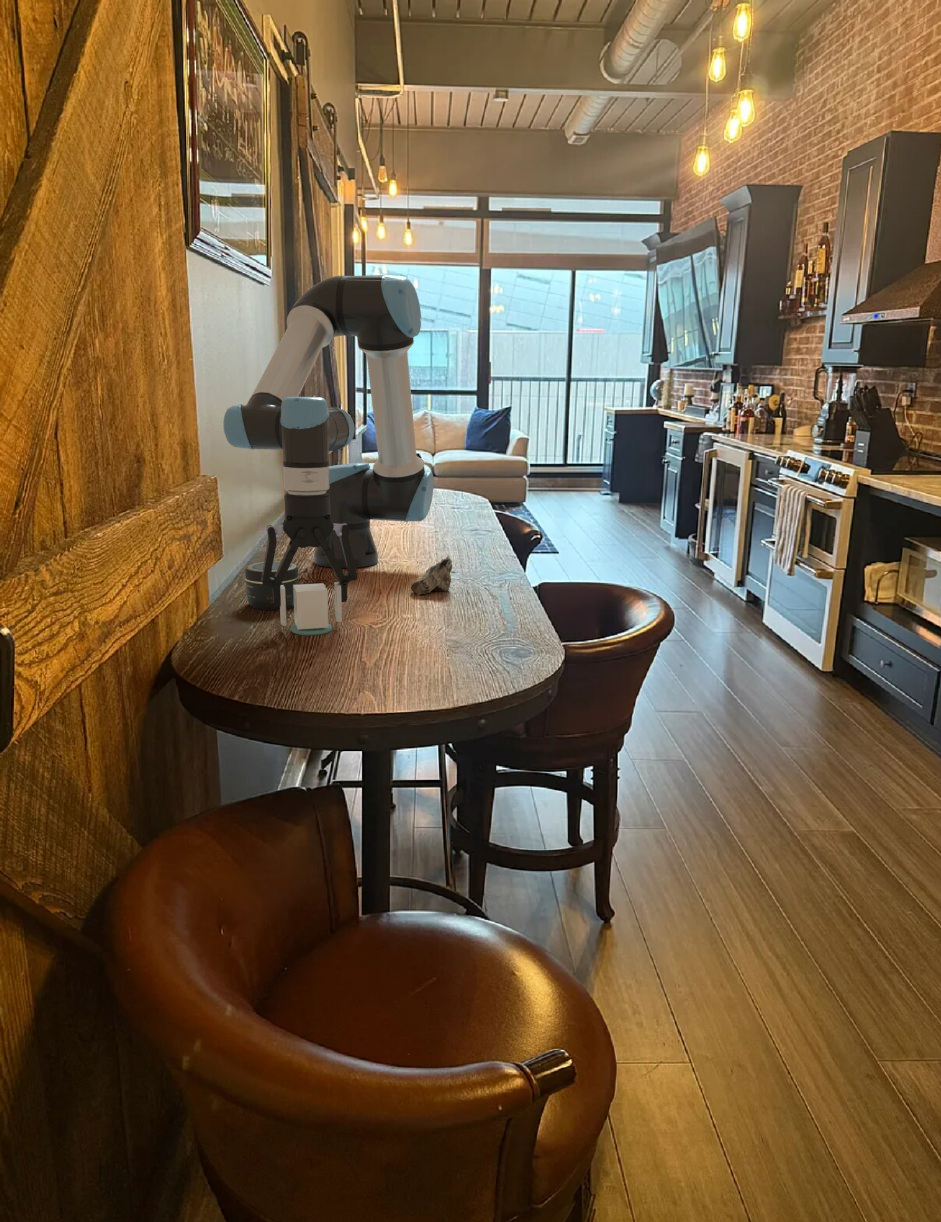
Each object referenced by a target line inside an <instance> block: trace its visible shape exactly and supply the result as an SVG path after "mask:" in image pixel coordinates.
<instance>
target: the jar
mask: <svg viewBox="0 0 941 1222" xmlns="http://www.w3.org/2000/svg"><path fill="white" fill-rule="evenodd" d="M280 563H281V561H279V560H278V561H277V560H276V561H274V560H273V566H272V571H271V578H274V576H275V574H276V572H277V569H278V567H279V565H280ZM263 566H264V561H260V562H255V563H252V564H251V563H250V564H248V565H247V566H246V567H245V570H244V571H245V572H244V573H245V574H244V576H245V577H244V579H245V589H246V590H245V591H246V599H247V602H248V605H249V606H251V608H253V609H255V610H260V611H280V606H275V605H274V602H273V588H272V587H271V586H268V585H264V584H263V583H262V580H261V577H262V571H263ZM298 567H299V566H298V565H297V564H296V563H292V562H291V564H290V566H289V568H288V571H287V573H286V575H285V577H284V579H283V581H282V584H281V585H284V587H285V600H286V610H287V609H290V608H294V593H293V585H299V568H298Z"/></svg>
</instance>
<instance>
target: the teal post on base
mask: <svg viewBox="0 0 941 1222" xmlns="http://www.w3.org/2000/svg"><path fill="white" fill-rule="evenodd" d="M332 630H333V626H332V624H330V623H329V622H328V628H313V629H297V626H296V624H295V623H294V624H292V625H291V626H290V631H291V632H292V634H294V635H299V636H320V635H326V634H327V633H330V632H332Z"/></svg>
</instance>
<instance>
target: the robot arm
mask: <svg viewBox="0 0 941 1222" xmlns="http://www.w3.org/2000/svg"><path fill="white" fill-rule="evenodd" d="M421 318H422V311H421V304H420V300H419V295H418V293H417V290H416V288H415V286H414V284H413V283H412V282H411V280H410V279H408V278H407V277H406V276H401V275H400V276H399V275H391V274H390V275H389V274H378V275H377V274H375V275H371V274H370V275H368V274H367V275H334V276H331V277H328V278H326V279H323V280H321V281H319V282H318V283H316V284H314V285H313V286H311V287H310V288H309V289H307V290H306V292H304V293H303V294H302V295H301V296H300V297H299V298H298V299H297V301H295V302H294V304H293V306H292V308H291V309H290V311H289V313H288V315H287V317H286V326H287V328H286V330H285V332H284V333H283V336H282V338H281V340H280V342H279V344H278V345H277V347H276V350H275V351H274V352H273V355H272V356H271V358H270V360H269V362H268V364H267V366H266V367H265V370H264V372H263V374H262V375H261V377H260V378H259V381H258V383H257V385H256V387H255V389H254V390H253V392H252V394H251V396H250V398H249V400H248V401H247V403H246V404H245V405H243V404H241V403H240V404H237V405H232V406H230V407H228V408H227V410H226V411H225V412H224V416H223V425H222V426H223V432H224V435H225V437H226V440H227V442H228V443H229V445H231V446H232V447H234V448H238V449H248V450H274V451H275V450H279V451H282V459H283V460H282V471H283V475H282V476H283V489H284V490H285V491H287V492H286V493H285V494H284V496H283V497H284V500H283V502H284V520H283V523H282V524H279V525H271V524H270V525H267V526H266V533H267V538H268V539H267V544H266V550H265V556H264V560H263V562H264V566H263V571H262V577H261V580H262V583H263V584H264V585H268V586H271V587H272V588H273V602H274V605H275V606H280V610H279V611H280V612H279V613H280V614H279V615H280V624H281V626H283V627H284V626H287V609H286V600H285V587H284V585H281V584H282V581H283V579H284V577H285V575H286V573H287V571H288V568H289V566H290V564H291V563H292V561H293V560H294V557H295V555H296V553H297V552H298V550H299V548H300V549H305V548H309V547H310V548H314V551H313V563H314V564H315V565H317V566H319V567H320V566H321V567H323V568H324V567H325V568H332V570H333V572H334V574H335V575H336V578H337V579H338V581H336V582H334V585H333V586H334V615H335V616H334V617H335V620H336V621H337V623H342V622H343V618H342V617H343V615H342V614H343V613H342V612H343V609H342V607H343V606H342V603H347V602H348V584H349V583H351V582H353V581H357V580H358V577H359V576H358V571H357V568H364V567H369V566H373V565H375V564H378V562H379V551H378V549H377V547H376V544H375V541H374V537H373V534H372V532H371V520H374V521H390V522H391V521H392V522H405V523H408V522H422V521H424V520H425V519H426V518H427V516H428V515H429V512H430V509H431V506H432V501H433V498H434V496H433V495H434V487H435V486H434V485H435V484H434V483H435V478H434V477H435V476H434V474H433V472H432V471H429V470H426V469H425V462H424V461H423V459H422V458H421V457H419V456H418V455H417V447H416V445H417V444H416V435H415V423H414V413H413V399H412V392H411V378H410V369H409V368H410V366H409V365H410V364H409V356H408V351H409V349H410V348H411V347H412V346H413V345H414V341H415V340H414V338H415V337H417V336H418V335H419V334H420V332H421V328H422V321H421ZM343 336H345V337H356V339H357V347H358V349H359V350H361V351H362V352H363V353H365V356H366V362H367V370H368V379H369V388H370V395H371V396H370V397H371V398H370V399H371V404H372V413H373V422H374V431H375V439H376V448H377V457H378V459H377V460H376V461H375V462H374V464H372V465H373V466H372V469H371V465H370V463H369V462H353V463H352V462H351V463H344V464H337V465H330V461H329V460H330V457H329V455H330V452H337V451H339V450H341V449H343V448H345V447H347V446H349V444H350V443H351V442H352V440H353V438H354V436H355V429H356V428H355V424H354V421H353V418H352V416H351V415H350V414H349V413H348V412H347V411H346V410H344V409H342V408H339V407H335V406H328V402H327V400H326V399H325V398H323V397H319V396H318V397H317V396H300V394H301V392H302V390H303V388H304V386H305V384H306V381H307V380H308V378H309V376H310V373H311V372H312V370H313V368H314V365H315V363H316V361H317V360H318V357H319V355H320V354H321V351H322V350H323V349H322V348H325V347H327V346H328V345H329V344H330V343H331V341H333V338H337V337H343ZM283 532H284V533H285V534H286V536H287V537H288V538H289V542H288V544H287V546H286V547H287V548H286V549H285V553H284V554H283V557H282V559H281V561H280V562H281V563H280V565H279V567H278V569H277V572H276V574H275V576H274V578H271V571H272V566H273V561H274V560H275V553H276V550H277V540H278V539H280V538H281V535H282V533H283ZM342 569H346V570H347V573H345V572H344V571H343V570H342Z"/></svg>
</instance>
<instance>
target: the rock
mask: <svg viewBox="0 0 941 1222" xmlns="http://www.w3.org/2000/svg"><path fill="white" fill-rule="evenodd" d="M452 569H453V560H452V559H451V558H450V555H447V557H446V558H444V559H443V558H442V559H441V560H440V561H439V562H438V563H435V564H433V565H432V566H430V567H429V568H428V569H427V570H426V571H425V573H424V574H423V575H422V576H420V577H418V578H416V579H415V580H414V581H413V583H412V584H411V585H410V590H411V591H412V592H413V593H414V594H416V596H420V595H426V594H428V593H429V594H430V593H431V592H432V591H436V592H448V591H449V590H450V587H451V582H452V578H451V577H452V576H451V572H452Z"/></svg>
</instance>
